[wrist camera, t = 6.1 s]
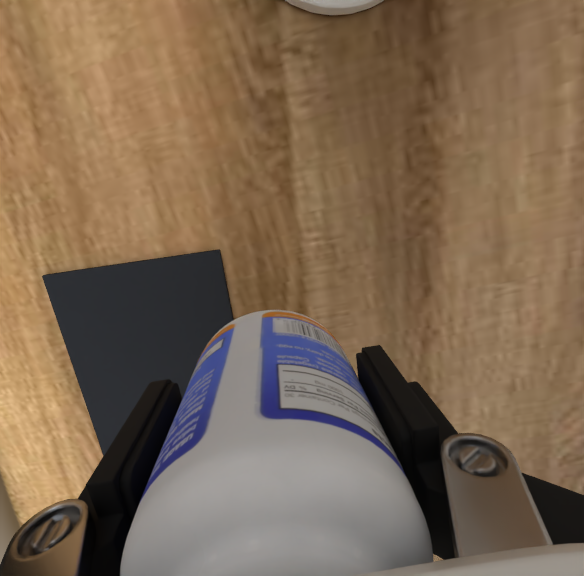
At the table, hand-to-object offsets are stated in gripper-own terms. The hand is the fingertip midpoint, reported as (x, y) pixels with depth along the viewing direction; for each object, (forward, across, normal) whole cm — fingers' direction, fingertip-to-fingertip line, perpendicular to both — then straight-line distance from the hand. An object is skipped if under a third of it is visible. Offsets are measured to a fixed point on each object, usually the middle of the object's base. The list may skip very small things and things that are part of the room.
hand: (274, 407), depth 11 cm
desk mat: (+15, +9, +7) cm, 19 cm away
